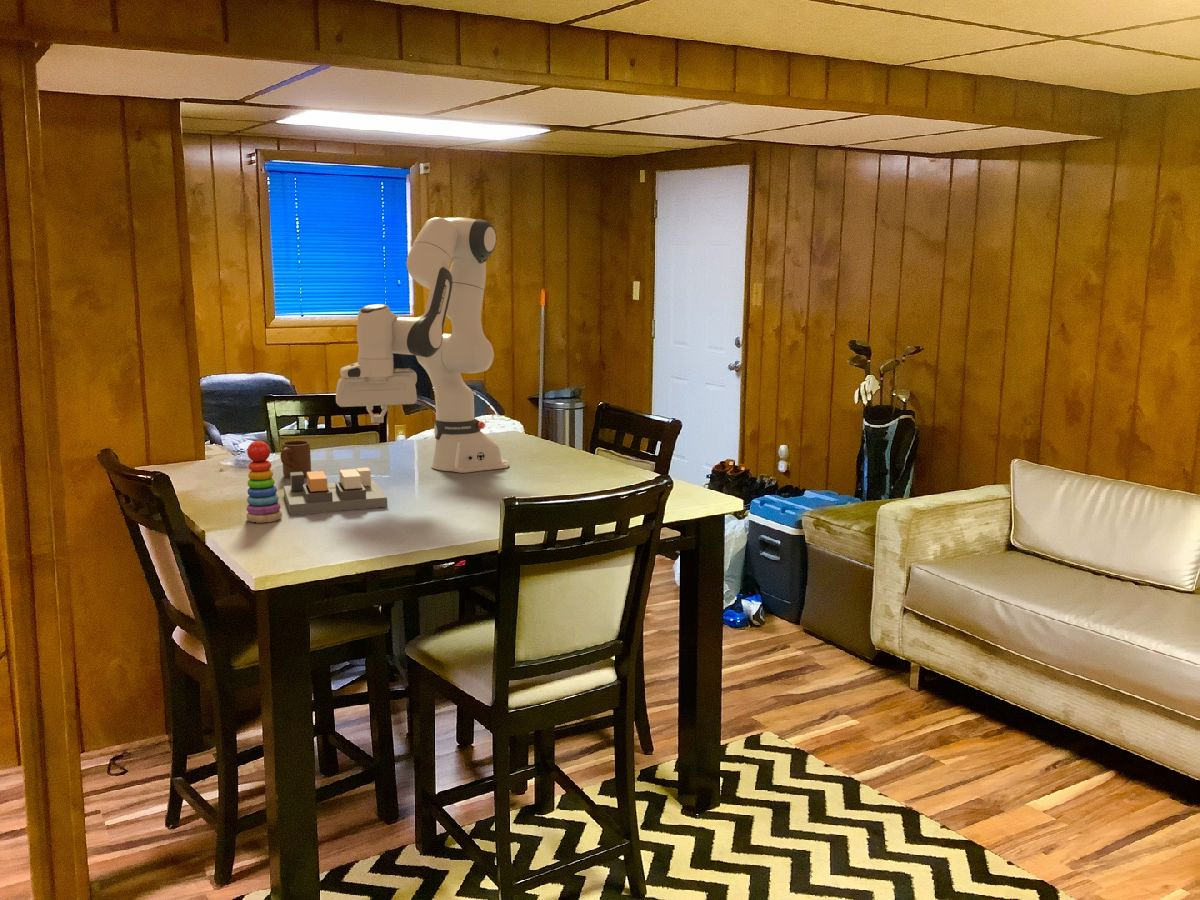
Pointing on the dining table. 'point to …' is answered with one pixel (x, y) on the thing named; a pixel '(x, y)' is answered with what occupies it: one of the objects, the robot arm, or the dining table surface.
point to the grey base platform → (334, 498)
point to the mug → (296, 457)
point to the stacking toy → (261, 486)
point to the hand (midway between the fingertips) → (377, 422)
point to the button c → (317, 481)
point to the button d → (350, 479)
